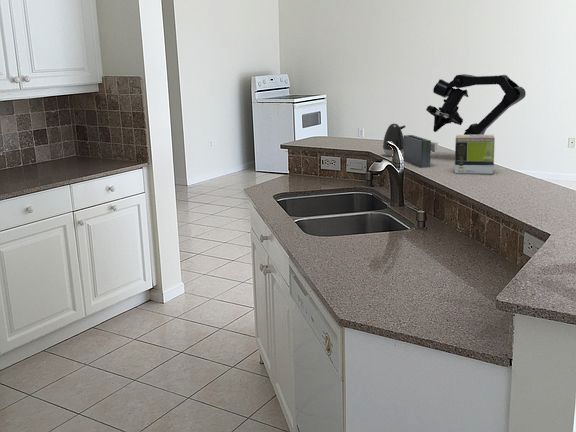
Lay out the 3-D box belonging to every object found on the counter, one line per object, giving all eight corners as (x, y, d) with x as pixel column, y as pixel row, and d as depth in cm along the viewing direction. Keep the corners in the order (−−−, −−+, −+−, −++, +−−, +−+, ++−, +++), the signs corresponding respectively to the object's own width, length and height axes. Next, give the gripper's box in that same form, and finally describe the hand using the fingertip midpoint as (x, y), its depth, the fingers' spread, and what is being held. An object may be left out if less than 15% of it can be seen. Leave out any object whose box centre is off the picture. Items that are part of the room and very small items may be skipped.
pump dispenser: (403, 157, 295) (403, 124, 291) (380, 157, 299) (381, 124, 295) (406, 154, 305) (407, 122, 301) (384, 153, 308) (385, 122, 304)
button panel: (411, 159, 290) (412, 134, 287) (430, 166, 271) (430, 140, 268) (403, 160, 289) (403, 135, 286) (420, 167, 270) (421, 141, 267)
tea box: (492, 170, 261) (494, 134, 257) (493, 174, 252) (495, 137, 248) (454, 169, 265) (456, 133, 261) (453, 173, 256) (455, 136, 252)
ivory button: (433, 150, 275) (433, 141, 274) (437, 152, 271) (437, 142, 270) (423, 151, 274) (423, 142, 273) (427, 152, 270) (427, 143, 269)
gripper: (477, 114, 283) (458, 145, 284) (447, 105, 297) (430, 134, 298) (464, 102, 276) (445, 133, 277) (434, 93, 290) (416, 123, 292)
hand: (434, 131), depth 286 cm, fingers closed
